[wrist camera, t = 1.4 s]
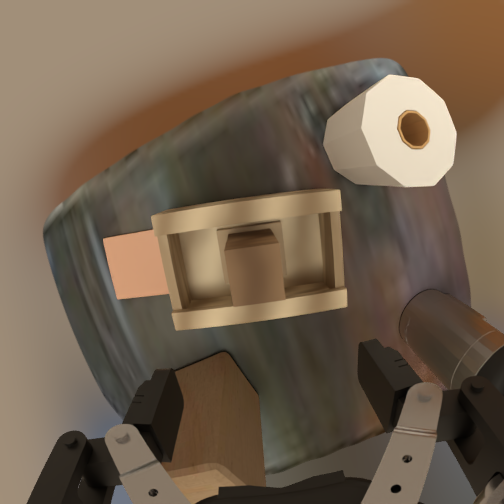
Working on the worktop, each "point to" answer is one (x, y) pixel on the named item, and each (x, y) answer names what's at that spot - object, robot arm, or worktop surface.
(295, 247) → the crate
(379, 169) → the toilet paper
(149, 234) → the tile
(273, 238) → the walnut block
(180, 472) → the wooden block
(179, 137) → the worktop surface
